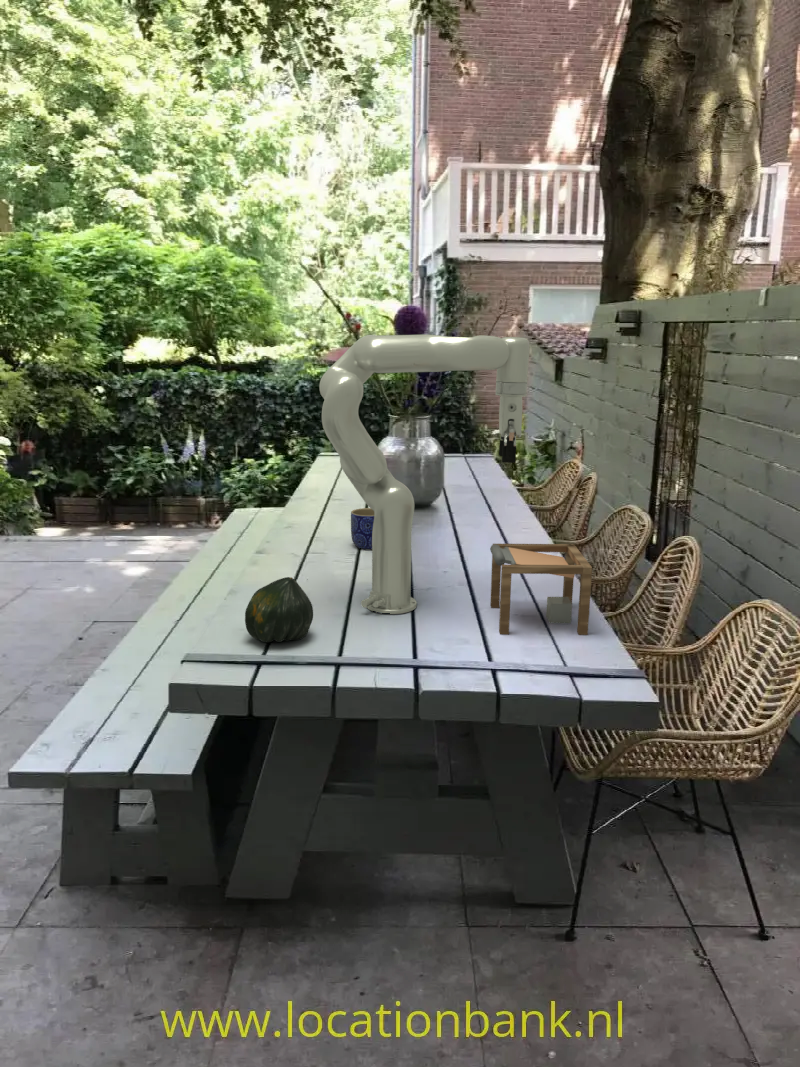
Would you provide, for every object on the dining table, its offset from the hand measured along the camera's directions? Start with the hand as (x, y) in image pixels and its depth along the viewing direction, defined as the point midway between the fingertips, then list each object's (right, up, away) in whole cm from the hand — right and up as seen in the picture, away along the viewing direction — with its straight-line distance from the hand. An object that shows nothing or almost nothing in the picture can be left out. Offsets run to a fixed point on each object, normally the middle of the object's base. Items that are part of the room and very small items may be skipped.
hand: (506, 459), depth 214 cm
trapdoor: (+4, -26, -11) cm, 28 cm away
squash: (-53, -42, -20) cm, 71 cm away
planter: (-36, -23, +54) cm, 69 cm away
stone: (+9, -37, -8) cm, 38 cm away
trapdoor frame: (+6, -39, -7) cm, 40 cm away
